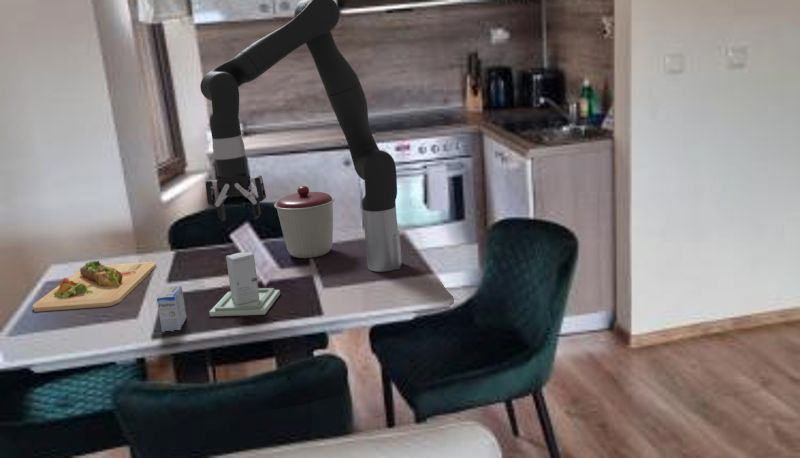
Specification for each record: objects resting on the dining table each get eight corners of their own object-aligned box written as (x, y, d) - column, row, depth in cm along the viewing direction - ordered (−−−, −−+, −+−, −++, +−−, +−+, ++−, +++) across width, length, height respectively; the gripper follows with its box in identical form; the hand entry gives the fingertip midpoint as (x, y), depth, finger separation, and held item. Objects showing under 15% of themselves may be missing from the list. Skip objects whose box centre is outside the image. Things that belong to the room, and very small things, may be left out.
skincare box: (238, 305, 189) (231, 259, 186) (231, 301, 193) (224, 255, 189) (260, 299, 192) (254, 253, 189) (253, 295, 196) (247, 250, 193)
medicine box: (168, 320, 187) (163, 287, 184) (187, 318, 187) (181, 285, 185) (162, 332, 179) (155, 298, 177) (181, 330, 179) (175, 296, 177)
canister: (273, 264, 225) (264, 194, 219) (290, 246, 242) (282, 181, 236) (333, 261, 222) (325, 191, 216) (345, 243, 239) (338, 178, 234)
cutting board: (116, 307, 200) (111, 281, 198) (29, 314, 201) (23, 287, 199) (159, 266, 234) (155, 243, 232) (84, 272, 235) (79, 248, 233)
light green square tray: (280, 294, 198) (279, 287, 198) (265, 314, 185) (264, 307, 185) (228, 296, 200) (227, 289, 200) (210, 316, 187) (208, 309, 186)
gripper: (262, 150, 188) (271, 213, 192) (207, 154, 189) (217, 217, 194) (253, 155, 180) (263, 221, 185) (196, 160, 182) (207, 225, 186)
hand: (240, 219), depth 189 cm, fingers open, 8 cm apart
